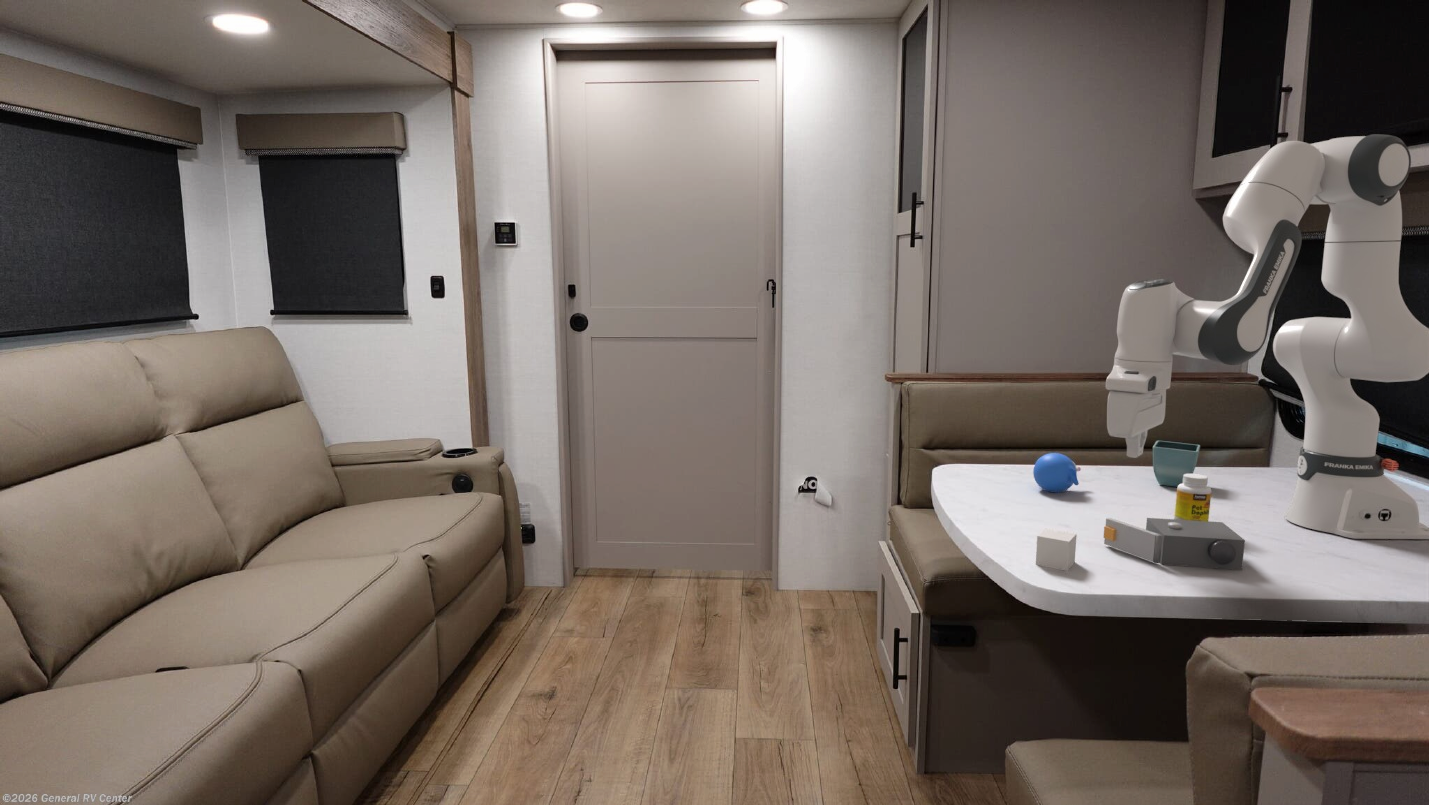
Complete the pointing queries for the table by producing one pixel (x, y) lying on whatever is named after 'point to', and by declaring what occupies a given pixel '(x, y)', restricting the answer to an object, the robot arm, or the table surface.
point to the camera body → (1198, 543)
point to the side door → (1133, 540)
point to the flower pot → (1173, 461)
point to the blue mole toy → (1055, 472)
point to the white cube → (1056, 549)
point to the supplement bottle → (1193, 498)
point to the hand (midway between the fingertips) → (1134, 456)
